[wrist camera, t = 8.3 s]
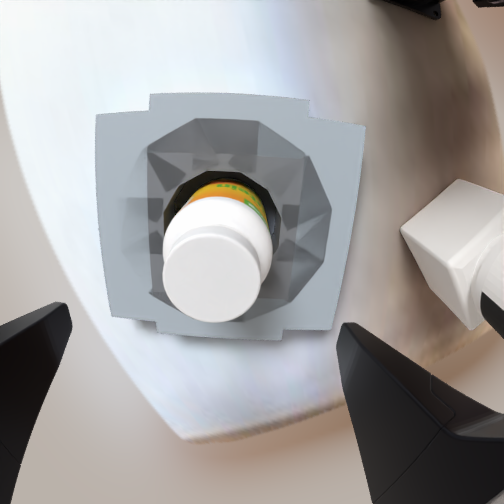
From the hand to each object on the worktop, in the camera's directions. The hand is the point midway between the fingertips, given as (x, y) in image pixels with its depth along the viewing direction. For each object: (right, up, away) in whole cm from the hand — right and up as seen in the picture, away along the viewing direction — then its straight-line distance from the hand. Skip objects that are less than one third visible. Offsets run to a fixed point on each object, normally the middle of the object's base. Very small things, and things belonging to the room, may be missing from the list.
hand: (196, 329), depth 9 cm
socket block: (0, +5, +12) cm, 13 cm away
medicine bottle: (+18, +4, +13) cm, 22 cm away
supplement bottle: (0, +5, +12) cm, 13 cm away
